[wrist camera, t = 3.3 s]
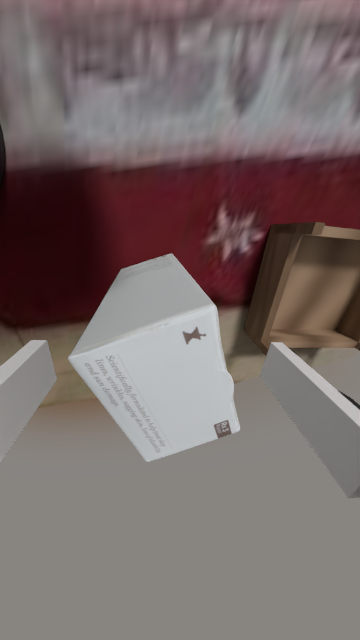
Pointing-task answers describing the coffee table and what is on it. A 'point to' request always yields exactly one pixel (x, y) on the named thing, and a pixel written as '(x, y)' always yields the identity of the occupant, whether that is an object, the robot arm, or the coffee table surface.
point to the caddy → (307, 288)
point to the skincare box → (158, 360)
